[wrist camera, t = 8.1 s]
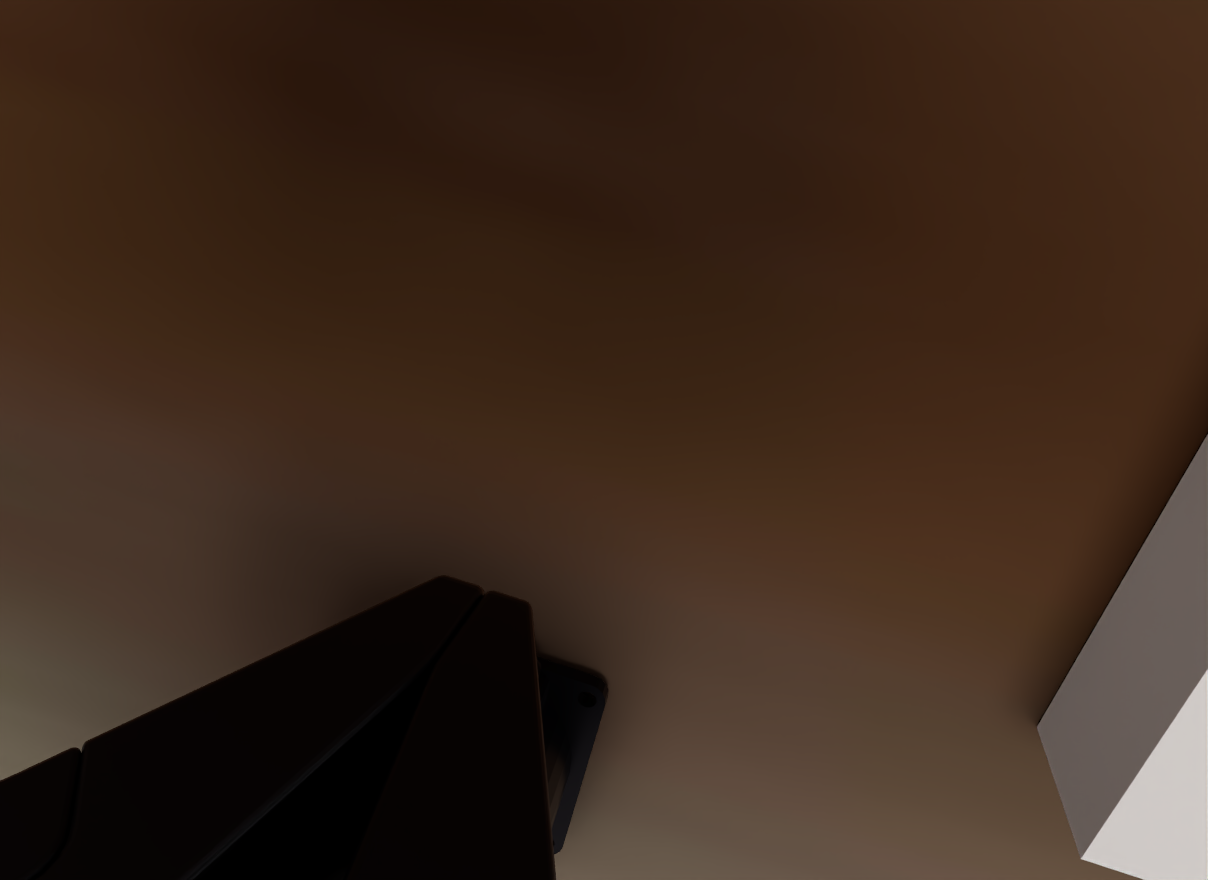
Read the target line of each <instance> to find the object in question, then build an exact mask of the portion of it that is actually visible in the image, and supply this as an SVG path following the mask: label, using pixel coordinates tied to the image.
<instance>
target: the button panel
mask: <svg viewBox="0 0 1208 880" xmlns="http://www.w3.org/2000/svg"><path fill="white" fill-rule="evenodd" d="M1037 730H1038V732H1039V735H1040V738H1041V741H1042V744H1043V747H1044V750H1045V753H1046V756H1047V759H1048V762H1049V765H1050V768H1051V771H1052V774H1053V777H1054V780H1055V783H1056V786H1057V789H1058V792H1059V795H1060V798H1061V801H1062V804H1063V807H1064V810H1065V813H1066V816H1067V819H1068V822H1069V825H1070V828H1071V831H1072V834H1073V837H1074V840H1075V843H1076V846H1077V849H1078V852H1079V855H1080V858H1081V859H1083V860H1086V861H1089V862H1092V863H1095V864H1098V865H1101V866H1104V867H1107V868H1110V869H1113V870H1116V871H1120V872H1123V873H1126V874H1129V875H1132V876H1135V877H1138V878H1141V879H1144V880H1208V434H1207V436H1206V438H1205V440H1204V441H1203V443H1202V445H1201V446H1200V448H1199V450H1198V452H1197V453H1196V455H1195V457H1194V458H1193V460H1192V462H1191V464H1190V465H1189V467H1188V469H1187V470H1186V472H1185V474H1184V476H1183V477H1182V479H1181V481H1180V482H1179V484H1178V486H1177V488H1176V489H1175V491H1174V493H1173V494H1172V496H1171V498H1170V500H1169V501H1168V503H1167V505H1166V506H1165V508H1164V510H1163V512H1162V513H1161V515H1160V517H1159V518H1158V520H1157V522H1156V524H1155V525H1154V527H1153V529H1152V530H1151V532H1150V534H1149V536H1148V537H1147V539H1146V541H1145V542H1144V544H1143V546H1142V548H1141V549H1140V551H1139V553H1138V554H1137V556H1136V558H1135V560H1134V561H1133V563H1132V565H1131V566H1130V568H1129V570H1128V572H1127V573H1126V575H1125V577H1124V578H1123V580H1122V582H1121V584H1120V585H1119V587H1118V589H1117V590H1116V592H1115V594H1114V596H1113V597H1112V599H1111V601H1110V602H1109V604H1108V606H1107V608H1106V609H1105V611H1104V613H1103V615H1102V616H1101V618H1100V620H1099V621H1098V623H1097V625H1096V627H1095V628H1094V630H1093V632H1092V633H1091V635H1090V637H1089V639H1088V640H1087V642H1086V644H1085V645H1084V647H1083V649H1082V651H1081V652H1080V654H1079V656H1078V657H1077V659H1076V661H1075V663H1074V664H1073V666H1072V668H1071V669H1070V671H1069V673H1068V675H1067V676H1066V678H1065V680H1064V681H1063V683H1062V685H1061V687H1060V688H1059V690H1058V692H1057V693H1056V695H1055V697H1054V699H1053V700H1052V702H1051V704H1050V705H1049V707H1048V709H1047V711H1046V712H1045V714H1044V716H1043V717H1042V719H1041V721H1040V723H1039V724H1038V726H1037Z"/></svg>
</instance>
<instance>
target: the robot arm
mask: <svg viewBox="0 0 1208 880" xmlns="http://www.w3.org/2000/svg"><path fill="white" fill-rule="evenodd" d="M582 692H590V693H592V694H593V695H594V696H595V697H593V698H591V697H587V696H585V695H584V694H583V693H582ZM607 697H608V688H607V686H606V684H605V683H604V682H603V681H602V680H601V679H600V678H598V677H596V676H594V675H591V674H588V673H585V672H582V671H578V670H575V669H572V668H569V667H566V666H563V665H560V664H557V663H554V662H551V661H548V660H545V659H542V658H539V657H536V646H535V635H534V623H533V612H532V607H531V605H530V604H529V602H527V601H525V600H522V599H518V598H515V597H512V596H509V595H506V594H503V593H500V592H496V591H489V592H487V593H486V594H484V590H483V589H482V588H481V587H480V586H478V585H475V584H472V583H468V582H465V581H462V580H459V579H456V578H453V577H450V576H445V575H442V576H438V577H435V578H433V579H431V580H429V581H427V582H424V583H422V584H420V585H418V586H416V587H414V588H412V589H409V590H407V591H405V592H403V593H401V594H399V595H397V596H395V597H392V598H390V599H388V600H386V601H384V602H382V603H380V604H378V605H375V606H373V607H371V608H369V609H367V610H365V611H363V612H361V613H358V614H356V615H354V616H352V617H350V618H348V619H346V620H343V621H341V622H339V623H337V624H335V625H333V626H331V627H329V628H326V629H324V630H322V631H320V632H318V633H316V634H314V635H312V636H309V637H307V638H305V639H303V640H301V641H299V642H297V643H294V644H292V645H290V646H288V647H286V648H284V649H282V650H280V651H277V652H275V653H273V654H271V655H269V656H267V657H265V658H263V659H260V660H258V661H256V662H254V663H252V664H250V665H248V666H246V667H243V668H241V669H239V670H237V671H235V672H233V673H231V674H228V675H226V676H224V677H222V678H220V679H218V680H216V681H214V682H211V683H209V684H207V685H205V686H203V687H201V688H199V689H197V690H194V691H192V692H190V693H188V694H186V695H184V696H182V697H179V698H177V699H175V700H173V701H171V702H169V703H167V704H165V705H162V706H160V707H158V708H156V709H154V710H152V711H150V712H148V713H145V714H143V715H141V716H139V717H137V718H135V719H133V720H131V721H128V722H126V723H124V724H122V725H120V726H118V727H116V728H113V729H111V730H109V731H107V732H105V733H103V734H101V735H99V736H96V737H94V738H92V739H90V740H88V741H86V742H85V743H84V745H83V747H82V752H81V751H80V749H78V748H70V749H68V750H66V751H64V752H61V753H59V754H57V755H55V756H53V757H51V758H49V759H47V760H44V761H42V762H40V763H38V764H36V765H34V766H32V767H29V768H27V769H25V770H23V771H21V772H19V773H17V774H14V775H12V776H10V777H8V778H5V779H3V780H1V781H0V880H556V872H555V861H554V854H556V853H558V852H560V850H561V849H562V847H563V844H564V841H565V837H566V834H567V831H568V827H569V824H570V821H571V817H572V814H573V811H574V807H575V804H576V801H577V797H578V794H579V791H580V787H581V784H582V781H583V777H584V774H585V771H586V767H587V764H588V761H589V757H590V754H591V751H592V747H593V744H594V741H595V737H596V734H597V731H598V727H599V724H600V721H601V717H602V714H603V711H604V707H605V704H606V701H607Z"/></svg>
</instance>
